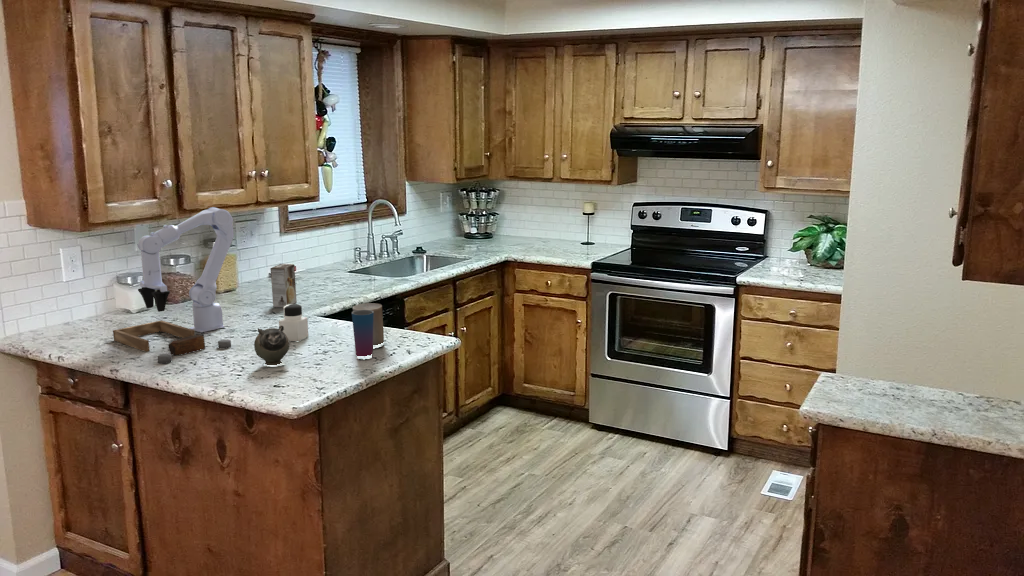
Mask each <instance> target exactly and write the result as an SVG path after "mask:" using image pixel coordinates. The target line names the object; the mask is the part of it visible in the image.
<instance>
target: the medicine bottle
mask: <svg viewBox="0 0 1024 576" xmlns="http://www.w3.org/2000/svg"><path fill="white" fill-rule="evenodd" d="M282 309H283V317H284V318H282V319H280V320H279V321H278V328H279V327H280V326H283V327H284V330H283V332H284V333H285V334H286V335H287V337H288V340H289V342H291V341H299V342H301V341H303V340H305V339H307V338H309V322H308V317H307V316H303V310H302V305H300V304H299V303H298V304H297V303H294V304H289V305H286V306H284V307H282ZM306 337H307V338H306ZM304 338H305V339H304ZM302 339H303V340H302ZM300 340H301V341H300Z"/></svg>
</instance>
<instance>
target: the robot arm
mask: <svg viewBox="0 0 1024 576" xmlns="http://www.w3.org/2000/svg"><path fill="white" fill-rule="evenodd" d="M233 222H234V218H233V216H232V215H231V212H230V211H228V210H226V209H223V208H218V207H215V206H212V207H211V206H210V207H209V208H207V209H204V210H201V211H200V212H198V213H197V214H195V215H192V216H190V217H189V218H187V219H186V220H184V221H182V222H179V224H177V225H173V224H164V225H163V226H162V228H161V229H158V230H156V231H151V232H150V233H149V234H150V235H143V236H142V237H139V240H138V242H137V248H138V249H139V250H140V255H141V258H140V259H141V268H142V269H141V270H142V276H143V277H142V278H143V279H142V280H140V281H139V288H138V289H137V291H138V293H139V294H140V295H141V298H142V300H143V302H144V305H145V307H146V309H150V308H154V307H155V306H154V305H156V310H157V312H164V311H165V310H166V305H167V301H168V297H169V295H170V293H171V291H170V290H169V289H168V285H166V284H165V283H164V282H163V277H162V269H161V268H162V267H161V257H160V251H161V249H162V248H164V247H167V246H168V245H170V244H172V243H174V242H177V240H180V237H181V235H182V234H184V233H186V232H188V231H191V230H193V229H195V228H197V227H199V226H210V227H212V229H213V231H214V232H215V234H216V238H215V241H214V243H213V245H212V248H211V251H210V252H209V256H208V257H207V260H206V263H205V265H204V268H203V271H202V273H201V276H200V277H199V278H198V279H196V281H195V283H194V284H193V286H192V287H191V288H190V289H189V292H188V296H189V298H190V300H191V301H192V304H191V307H192V315H193V317H192V318H193V326H192V327H191V326H190V327H189V329H192V330H194V331H195V332H198V333H206V332H209V331H213V330H214V331H215V330H218V329H222V328H225V325H224V321H223V320H224V319H223V318H224V317H223V309H222V306H221V305H220V303H219V302H215V301H216V292H217V289H218V286H217V279H218V277H219V275H220V272H221V270H222V267H223V264H224V262H225V260H226V257H227V255H228V253H229V249H230V247H231V244H232V242H233V240H234V237H235V236H234V235H235V233H234V225H233Z"/></svg>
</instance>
